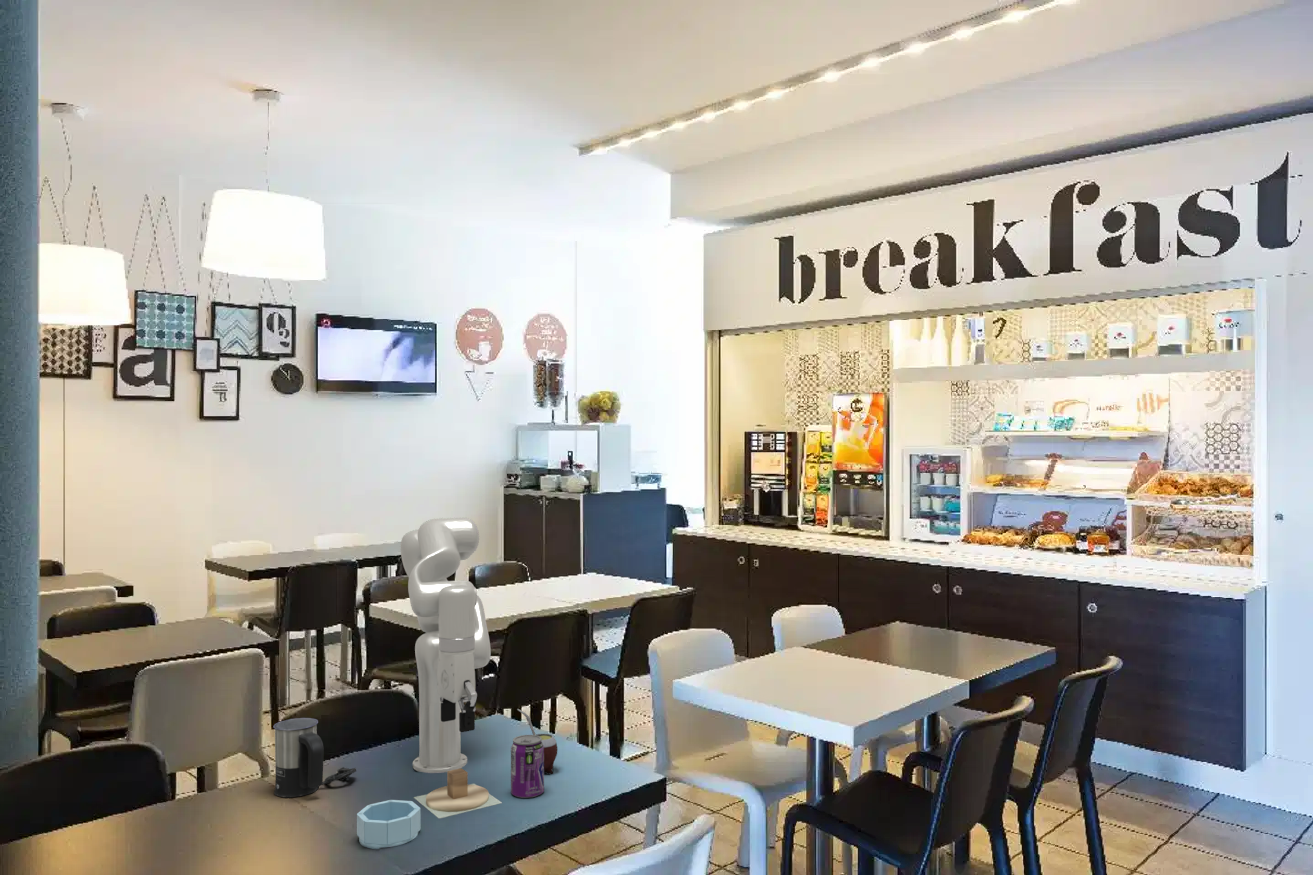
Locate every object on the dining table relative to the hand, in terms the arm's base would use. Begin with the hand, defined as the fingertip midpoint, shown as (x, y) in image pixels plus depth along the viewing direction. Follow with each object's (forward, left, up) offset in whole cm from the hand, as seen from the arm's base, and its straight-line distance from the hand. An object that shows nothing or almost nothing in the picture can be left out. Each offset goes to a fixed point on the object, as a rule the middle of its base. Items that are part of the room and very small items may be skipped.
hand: (457, 725), depth 199 cm
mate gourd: (-6, +23, -17) cm, 29 cm away
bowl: (+9, -18, -16) cm, 26 cm away
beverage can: (+5, +14, -17) cm, 22 cm away
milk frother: (-27, -22, -17) cm, 39 cm away
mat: (0, 0, -16) cm, 16 cm away
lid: (0, 0, -16) cm, 16 cm away
